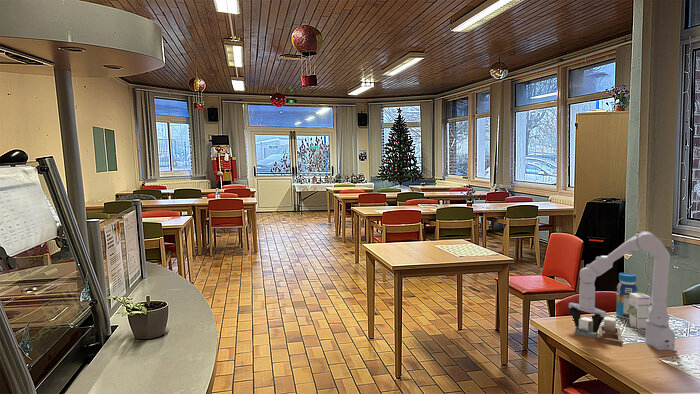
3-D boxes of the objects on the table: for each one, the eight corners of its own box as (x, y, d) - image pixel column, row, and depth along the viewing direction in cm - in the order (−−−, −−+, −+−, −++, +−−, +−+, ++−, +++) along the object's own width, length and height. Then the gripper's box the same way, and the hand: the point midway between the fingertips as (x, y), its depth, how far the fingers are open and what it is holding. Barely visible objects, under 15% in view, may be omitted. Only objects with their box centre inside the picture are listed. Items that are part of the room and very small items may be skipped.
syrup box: (650, 329, 183) (651, 296, 182) (636, 329, 183) (637, 296, 182) (641, 325, 189) (642, 292, 188) (628, 325, 189) (629, 292, 188)
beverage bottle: (619, 312, 206) (620, 271, 205) (639, 317, 199) (641, 274, 198) (612, 316, 200) (613, 274, 199) (633, 321, 194) (634, 277, 193)
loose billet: (584, 331, 181) (584, 317, 180) (593, 334, 177) (594, 319, 177) (578, 333, 179) (578, 318, 178) (588, 336, 175) (588, 321, 175)
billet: (603, 330, 180) (604, 316, 180) (615, 332, 178) (615, 318, 178) (604, 333, 177) (604, 319, 176) (615, 335, 175) (615, 321, 174)
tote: (575, 330, 183) (576, 325, 183) (596, 333, 180) (597, 328, 179) (575, 336, 177) (575, 331, 177) (597, 339, 173) (597, 334, 173)
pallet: (598, 330, 183) (598, 325, 183) (619, 333, 179) (619, 328, 179) (599, 343, 169) (599, 338, 169) (621, 347, 165) (621, 341, 165)
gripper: (564, 294, 181) (564, 325, 182) (599, 302, 169) (598, 336, 170) (574, 291, 185) (574, 322, 186) (609, 300, 172) (608, 333, 173)
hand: (586, 329), depth 178 cm, fingers open, 7 cm apart
